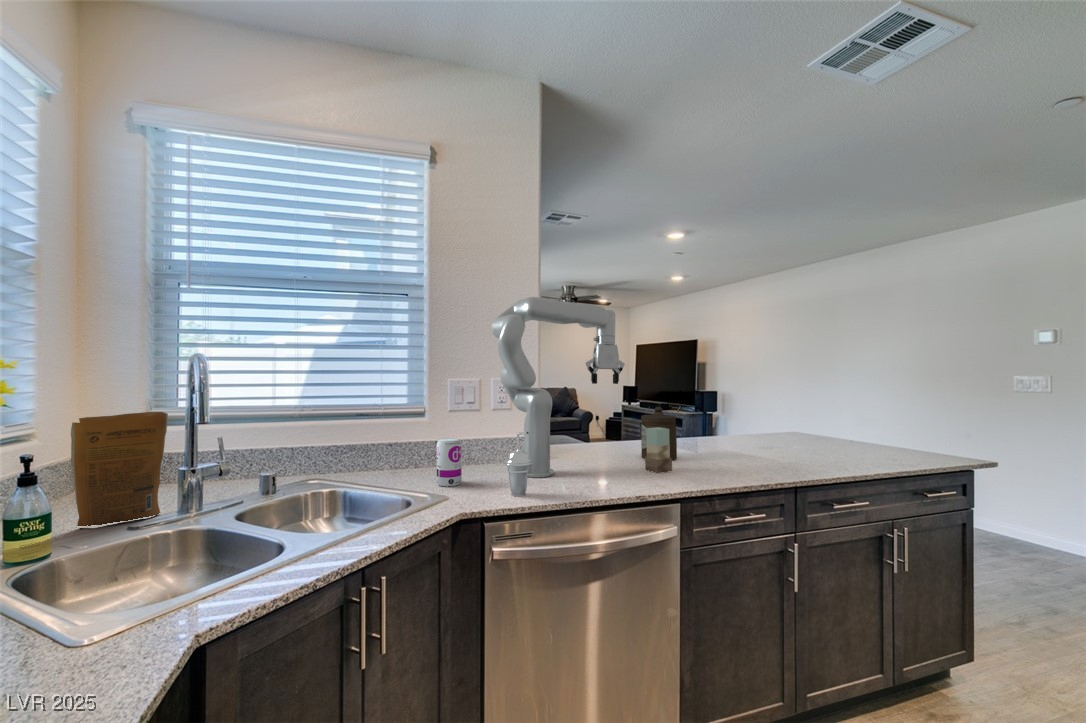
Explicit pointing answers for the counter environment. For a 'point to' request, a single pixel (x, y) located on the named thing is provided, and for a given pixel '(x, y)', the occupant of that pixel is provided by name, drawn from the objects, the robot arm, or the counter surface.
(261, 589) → the counter surface
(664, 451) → the oak upper block
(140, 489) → the pancake mix bag
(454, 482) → the supplement can
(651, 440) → the sage cube
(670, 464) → the walnut base block
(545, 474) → the robot arm
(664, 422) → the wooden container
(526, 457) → the cup with straw
